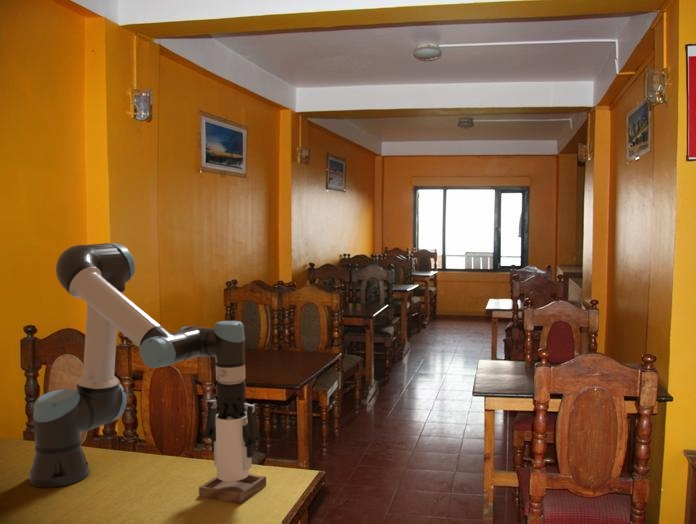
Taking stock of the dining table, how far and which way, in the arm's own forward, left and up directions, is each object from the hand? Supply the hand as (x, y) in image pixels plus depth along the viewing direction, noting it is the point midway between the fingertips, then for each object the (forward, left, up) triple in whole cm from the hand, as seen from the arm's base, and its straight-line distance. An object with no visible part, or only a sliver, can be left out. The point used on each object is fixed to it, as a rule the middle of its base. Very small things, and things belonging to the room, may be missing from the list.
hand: (232, 466), depth 171 cm
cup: (0, 0, -2) cm, 2 cm away
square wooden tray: (0, 0, -6) cm, 6 cm away
